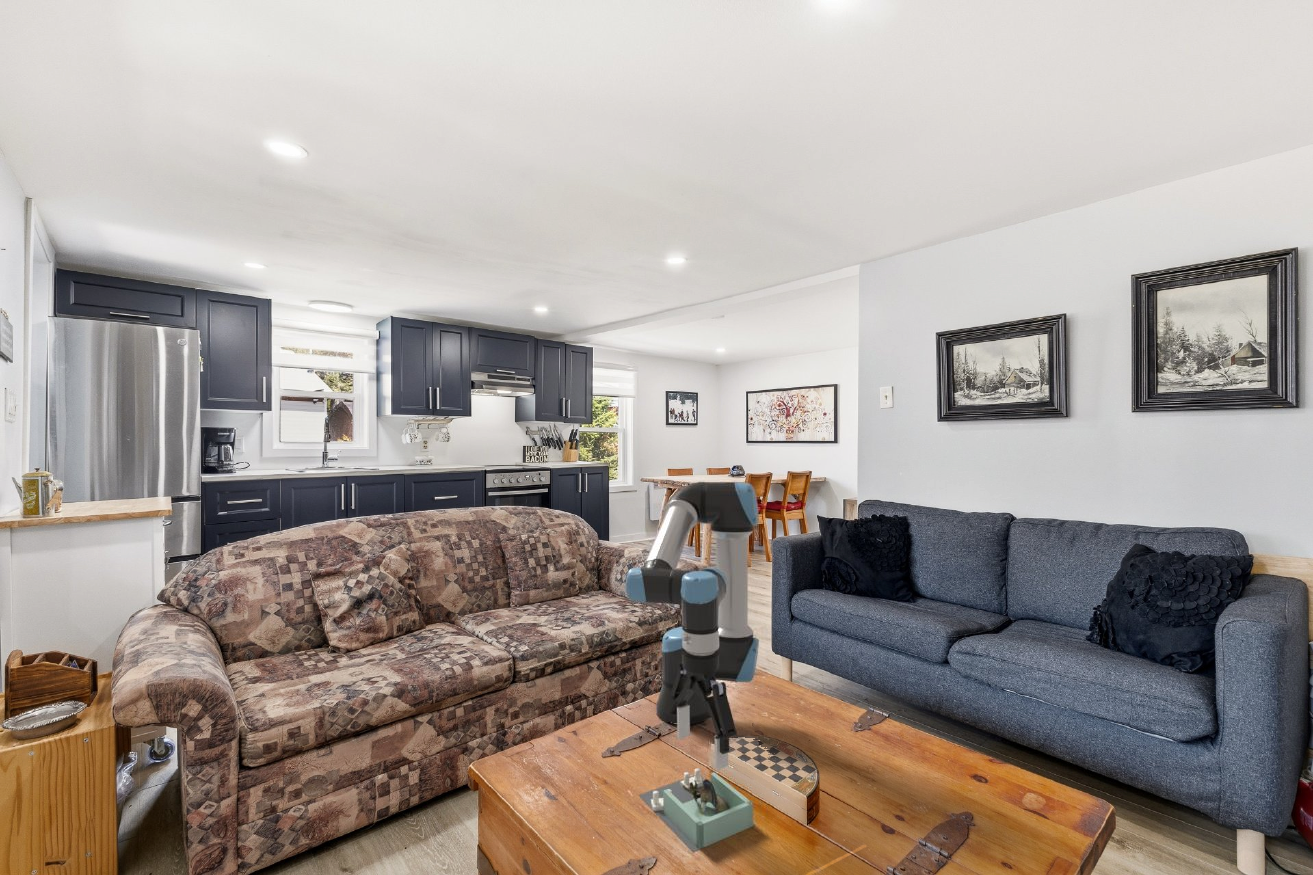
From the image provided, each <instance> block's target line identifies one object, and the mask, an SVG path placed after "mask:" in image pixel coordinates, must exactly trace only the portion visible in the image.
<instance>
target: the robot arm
mask: <svg viewBox="0 0 1313 875" xmlns="http://www.w3.org/2000/svg"><path fill="white" fill-rule="evenodd" d="M757 499H758V498H757V494H756V491H755V488H754V486H753V485H752V484H751V483H749V482H739V481H729V482H728V481H727V482H726V481H720V482H719V481H718V482H717V481H698V482H697V481H696V482H692V483H689V484H688V485H686V486H684V487H682V488H680V489H679V490H678V491H676V492H675V493H674V494H673V495H672V496H671V497H670V498H669V499H668V500H667V502H666V503H665V505H664V508H663V510H662V511H663V512H662V518H663V519H662V521H661V524H660V527H659V529H658V532H657V533H656V536H655V538H654V541H653V543H652V545H651V548H650V550H649V552H648V554H647V557H646V558H645V561H644V564H643V565H642V567H641V566H638V567H632V568H630V569H629V570H628V572H627V574H626V577H625V578H626V579H625V594H626V596H627V598H628V600H630V601H632V602H638V603H643V604H647V603H648V604H662V605H663V604H666V605H680V606H681V626H678V627H675V628H672V629H670V630H668V631H667V632H665V634H664V635H663V637H662V645H661V656H662V657H661V663H662V664H661V665H662V667H661V668H662V670H661V671H662V673H661V674H662V685H661V689H660V692H659V696H658V699H657V702H656V716H657V717H658V719H660V720H662V721H663V722H666V723H668V722H672V723H677V724H676V728H677V731H676V732H677V734H676V735H677V736H676V737H677V738H678V740H681V739H683V738H686V737H687V738H688V737H689V736H690V735H691V733H690V732H691V729H690V728H691V726H690V725H696V724H699V723H702V722H704V721H706V720H707V719H708V718H710V719H711V721H712V724H713V726H714V729H715V732H716V734H715V735H714V769H715V770H716V771H719V770H721V769H724V768H727V767H729V753H730V739H731V738H733V737H736V736H737V735H738V734H737V729H736V725H735V724H736V723H735V721H734V718H733V714H732V711H731V707H730V702H729V700H728V695H727V685H726V683H725V681H726V682H732V683H733V682H734V683H735V684H736V683H750V682H751V681H753V680H754V678H755V674H756V673H755V672H756V667H757V662H758V657H759V654H758V653H759V646H760V644H759V643H760V639H759V638H757V637H754V629H752V628H751V627H750V625H749V624H748V623H749V622H748V617H749V615H748V614H749V611H748V610H749V608H748V607H749V606H748V605H749V604H748V602H749V601H748V600H749V599H748V598H749V597H748V595H749V594H748V592H749V588H748V586H749V585H748V584H749V582H748V578H749V577H748V576H749V574H748V571H749V570H748V568H749V567H748V560H749V558H748V556H749V555H748V544H749V543H748V538H749V537H750V536H751V534H753V532H754V527H756V526H757V525H758V524H759V521H760V519H759V507H758V505H759V504H758V500H757ZM697 524H703V525H704V524H706V525H710V531H711V533H712V535H714V536H715V537H716V544H715V545H716V546H715V547H716V550H715V551H716V554H715V555H716V557H715V558H716V559H715V560H716V565H715V566H716V568H715V567H711V566H710V567H709V566H708V567H705V568H702V569H701V570H689V569H685V570H684V569H677V567H678V563H679V562H680V558H681V556H682V554H683V551H684V547H685V545H686V543H687V540H688V536H689V534H690V531H691V530H692V529H693V528H695V526H696V525H697ZM718 681H722V682H718ZM672 723H671V724H672Z"/></svg>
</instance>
